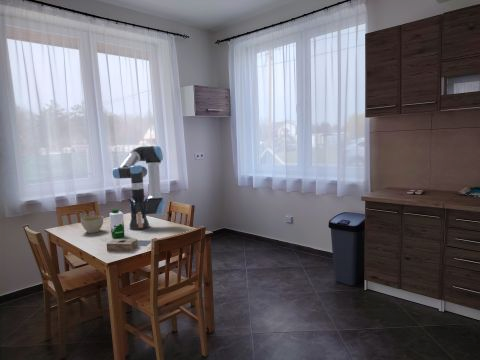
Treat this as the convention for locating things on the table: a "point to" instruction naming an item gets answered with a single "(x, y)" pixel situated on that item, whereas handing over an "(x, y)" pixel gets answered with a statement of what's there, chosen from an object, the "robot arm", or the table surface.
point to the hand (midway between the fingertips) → (140, 223)
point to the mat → (143, 242)
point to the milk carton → (117, 224)
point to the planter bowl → (92, 223)
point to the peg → (139, 220)
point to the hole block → (122, 245)
